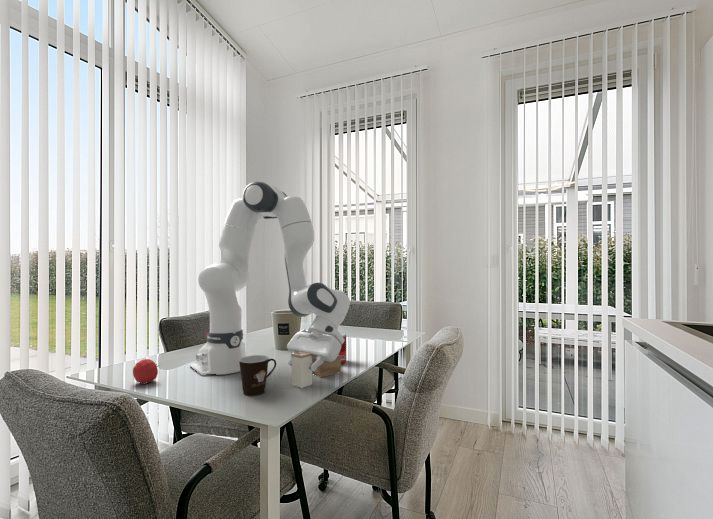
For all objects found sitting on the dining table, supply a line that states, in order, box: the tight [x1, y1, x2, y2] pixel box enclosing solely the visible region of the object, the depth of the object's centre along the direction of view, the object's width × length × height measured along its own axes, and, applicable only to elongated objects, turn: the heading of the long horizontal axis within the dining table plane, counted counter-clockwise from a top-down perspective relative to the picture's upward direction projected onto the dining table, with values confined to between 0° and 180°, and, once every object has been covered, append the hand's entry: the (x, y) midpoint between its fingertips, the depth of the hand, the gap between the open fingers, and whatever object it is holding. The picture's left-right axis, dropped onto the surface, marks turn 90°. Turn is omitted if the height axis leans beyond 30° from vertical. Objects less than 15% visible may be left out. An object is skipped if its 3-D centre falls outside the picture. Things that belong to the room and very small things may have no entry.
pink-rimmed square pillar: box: [290, 351, 313, 389], centre depth 114 cm, size 5×5×10 cm
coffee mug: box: [239, 354, 277, 397], centre depth 109 cm, size 12×9×10 cm
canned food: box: [338, 332, 347, 365], centre depth 140 cm, size 8×8×11 cm
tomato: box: [132, 358, 160, 384], centre depth 118 cm, size 8×8×8 cm
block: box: [312, 355, 342, 378], centre depth 128 cm, size 9×9×6 cm
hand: (300, 367), depth 114 cm, fingers open, 8 cm apart
